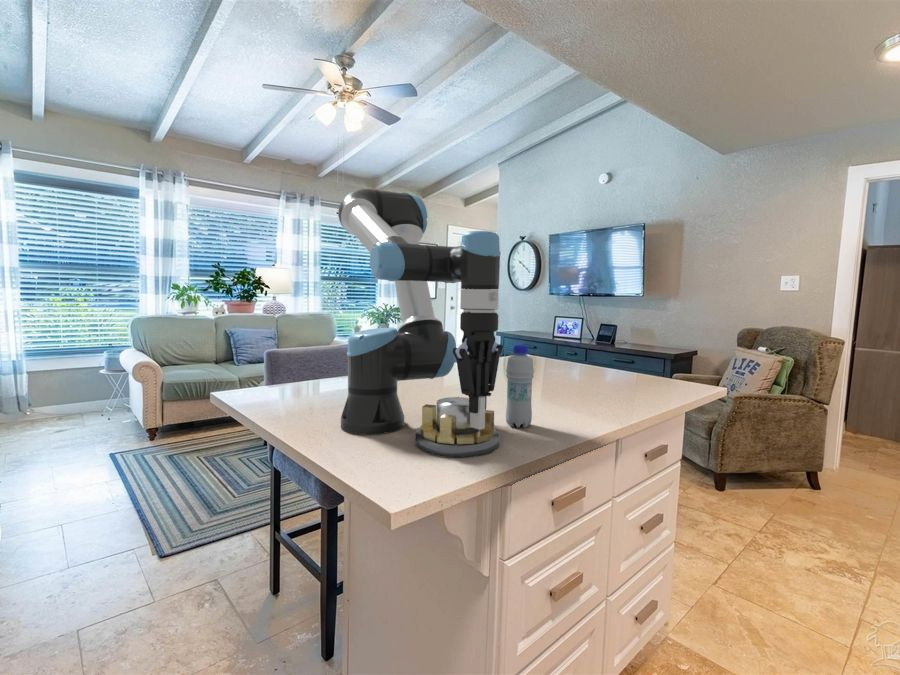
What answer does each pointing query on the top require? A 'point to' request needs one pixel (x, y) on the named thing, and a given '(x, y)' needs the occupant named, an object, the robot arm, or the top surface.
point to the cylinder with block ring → (453, 428)
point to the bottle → (519, 387)
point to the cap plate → (457, 447)
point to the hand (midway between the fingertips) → (477, 427)
